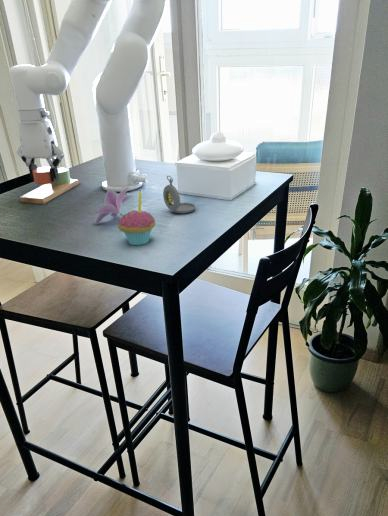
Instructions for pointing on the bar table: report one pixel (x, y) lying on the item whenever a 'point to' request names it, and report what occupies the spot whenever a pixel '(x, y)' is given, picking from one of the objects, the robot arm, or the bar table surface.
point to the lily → (112, 204)
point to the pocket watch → (175, 200)
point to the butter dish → (216, 169)
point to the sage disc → (63, 176)
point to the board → (47, 192)
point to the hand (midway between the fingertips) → (45, 179)
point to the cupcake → (137, 225)
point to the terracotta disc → (42, 175)
